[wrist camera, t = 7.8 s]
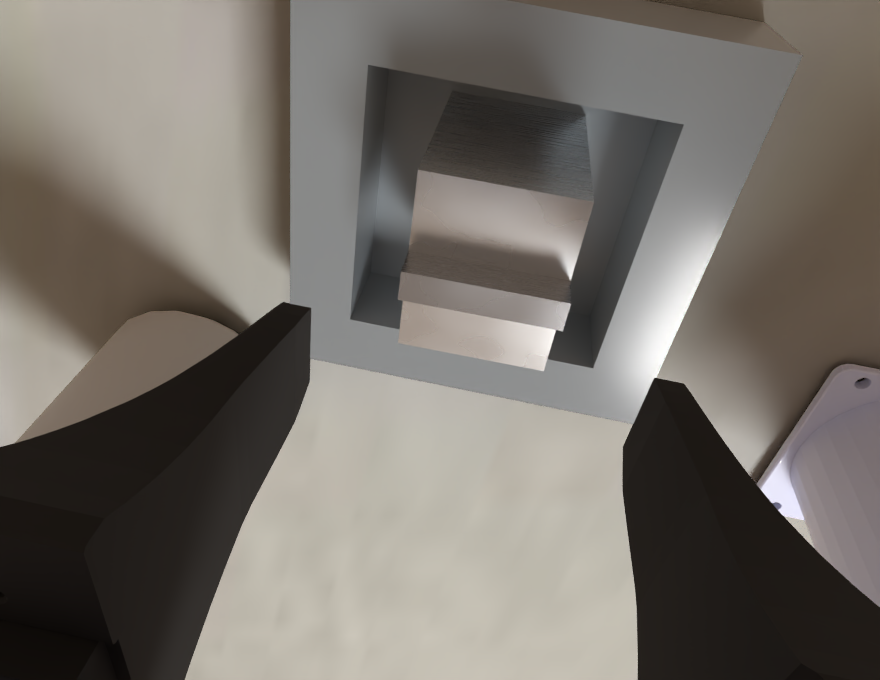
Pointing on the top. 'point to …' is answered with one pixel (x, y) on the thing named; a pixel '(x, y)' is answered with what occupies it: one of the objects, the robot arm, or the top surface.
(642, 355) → the well block
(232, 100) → the top surface
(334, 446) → the top surface
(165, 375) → the can
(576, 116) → the bracket
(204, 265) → the top surface
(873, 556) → the robot arm
